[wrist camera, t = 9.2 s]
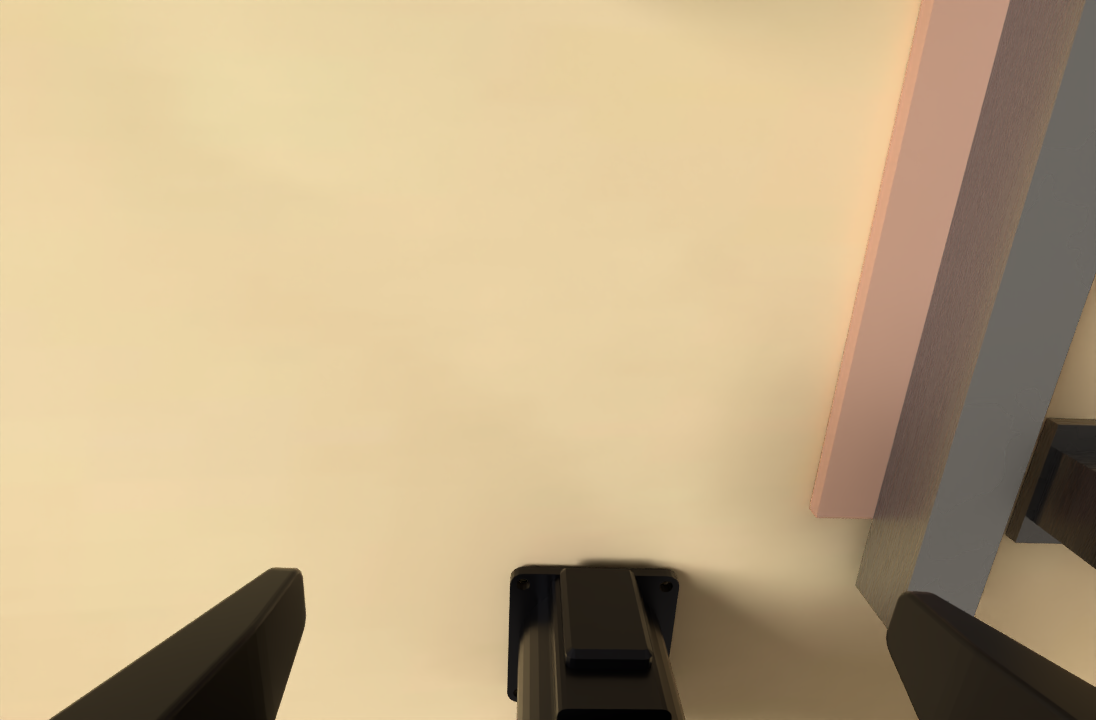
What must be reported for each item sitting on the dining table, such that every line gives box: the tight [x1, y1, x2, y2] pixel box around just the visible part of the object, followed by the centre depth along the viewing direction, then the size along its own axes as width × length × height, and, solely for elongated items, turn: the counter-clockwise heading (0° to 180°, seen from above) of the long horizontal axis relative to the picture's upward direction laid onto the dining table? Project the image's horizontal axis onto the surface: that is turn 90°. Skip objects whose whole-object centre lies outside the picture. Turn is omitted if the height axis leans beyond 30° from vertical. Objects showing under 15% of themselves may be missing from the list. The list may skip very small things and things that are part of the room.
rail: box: [855, 0, 1096, 629], centre depth 18 cm, size 26×3×3 cm, turn 178°
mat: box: [809, 0, 1010, 519], centre depth 18 cm, size 24×7×1 cm, turn 178°
